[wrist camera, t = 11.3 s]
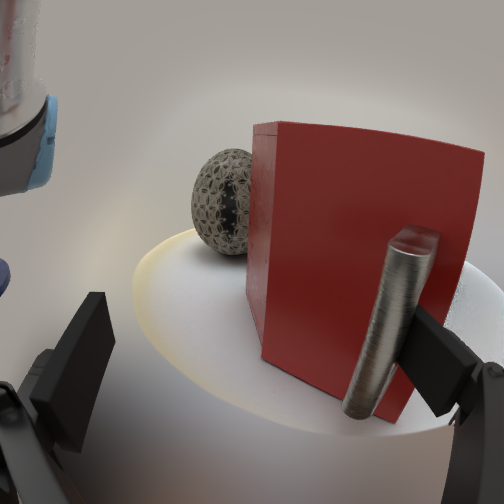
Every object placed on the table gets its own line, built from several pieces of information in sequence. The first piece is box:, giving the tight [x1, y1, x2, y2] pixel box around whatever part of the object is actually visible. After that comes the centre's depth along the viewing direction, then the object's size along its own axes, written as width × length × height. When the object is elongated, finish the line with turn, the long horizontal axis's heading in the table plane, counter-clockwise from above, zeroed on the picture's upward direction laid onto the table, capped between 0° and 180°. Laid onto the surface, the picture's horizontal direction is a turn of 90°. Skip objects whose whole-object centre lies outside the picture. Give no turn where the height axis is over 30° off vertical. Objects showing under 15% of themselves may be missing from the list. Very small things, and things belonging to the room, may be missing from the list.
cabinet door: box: [261, 122, 485, 423], centre depth 16 cm, size 6×12×18 cm, turn 50°
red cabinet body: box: [246, 121, 307, 345], centre depth 27 cm, size 10×12×18 cm
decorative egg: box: [191, 149, 252, 255], centre depth 42 cm, size 12×12×15 cm
